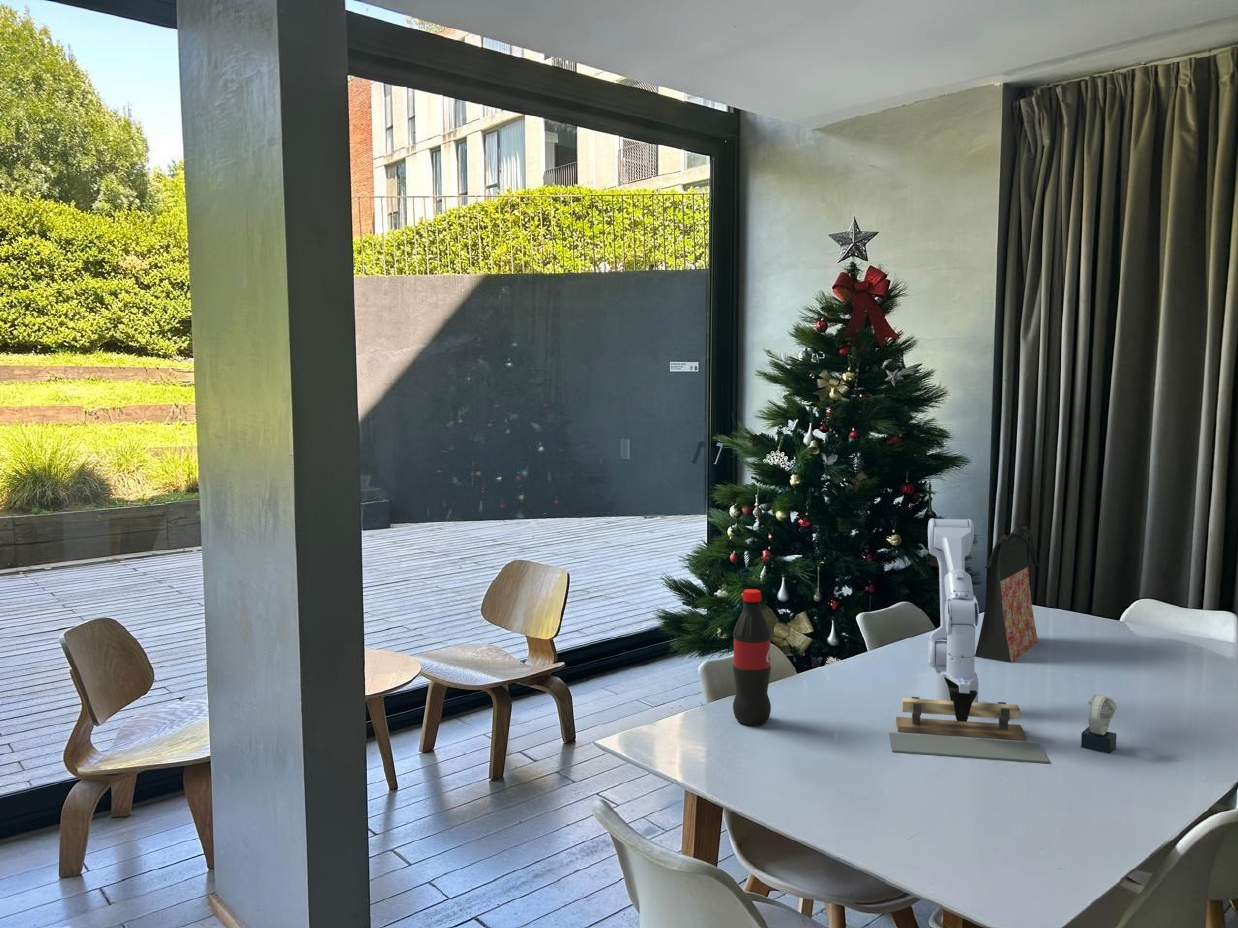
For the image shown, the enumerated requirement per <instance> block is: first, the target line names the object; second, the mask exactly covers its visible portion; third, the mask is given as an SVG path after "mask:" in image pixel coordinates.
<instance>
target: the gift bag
mask: <svg viewBox="0 0 1238 928" xmlns="http://www.w3.org/2000/svg"><path fill="white" fill-rule="evenodd" d="M1017 532H1019V534H1017ZM1028 551H1029V555H1030V559H1031V562H1032V564H1033V565H1034V566H1035V567H1037V568H1039V567H1040V566H1039V565H1040V564H1039V562H1038V557H1037V551H1036V547H1035V542H1034V539H1033V535H1032V533H1031V531H1030V529H1029V527H1028V526H1027V525H1023V527H1019V526H1018V527H1016V528H1014V529H1013V530H1012V532H1010V533H1009V534H1007V535H1006V534H1003V535H1001V536H1000V538H999V539H998V540H997V541H996V544H994V546H993V549H992V552H991V554H990V556H989V559H988V562H987V565H986V566H985V567H983V568H985V569H989V568H990V570H989V578H988V585H987V592H986V601H985V607H984V611H983V618H982V621H981V622H982V623H981V628H980V632H979V637H978V641H977V645H976V648H975V658H976V657H977V658H980V659H987V660H993V661H999V662H1004V663H1010V664H1012V663H1013V662H1014V661H1015V660H1017V659H1018V658H1019V657H1020V656H1022V655H1023V654H1024V653H1026V652H1027V651H1028V650H1029V649H1031V648H1032V647H1034V646H1035V645H1036V644H1037V643H1038V642H1039V638H1038V634H1037V628H1036V621H1035V618H1034V611H1033V603H1032V596H1031V594H1032V593H1031V586H1030V575H1029V563H1028V562H1029V560H1028Z"/></svg>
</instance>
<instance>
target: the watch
mask: <svg viewBox="0 0 1238 928" xmlns="http://www.w3.org/2000/svg"><path fill="white" fill-rule="evenodd" d="M1087 703H1088V705H1089V712H1088V715H1089V716H1088V718H1087V720H1088V727H1086V728H1085V729H1084V730H1083V731H1082V732H1081V736H1080V737H1081V738H1080V741H1081V744H1080V748H1082V749H1086V750H1091V751H1094V752H1099V753H1103V754H1107V755H1111V754H1112V753H1113V752H1114V751H1115V750H1116V749H1117V732H1116V733H1115V732H1112V731H1108V730H1109V728H1110V725H1111V724H1110V723H1111V719H1113V717H1114V715H1115V713H1116V711H1117V709H1118V705H1117V703H1116V702H1115V700H1114V699H1112V698H1111V697H1110V696H1108V695H1105V694H1093V695H1092V697H1091V699H1090V700H1088V701H1087Z"/></svg>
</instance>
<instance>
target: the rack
mask: <svg viewBox="0 0 1238 928" xmlns="http://www.w3.org/2000/svg"><path fill="white" fill-rule="evenodd" d="M911 698H913V699H921V697H920V696H911ZM997 704H1007V702H1005V701H997ZM921 716H922V713H921V703H913V713H911V717H910V716H909V717H906V716H895V717H896V718H895V724H896V729H897V733H899V732H900V733H911V734H925V735H940V736H955V737H956V736H958V737H969V738H972V737H973V738H985V737H987V738H986V739H998V740H1002V739H1003V740H1013V741H1019V740H1020V741H1026V740H1027V735H1026V733H1025V731H1024V729H1023V727H1022V726H1021V724H1013V723H1009V722H1010V720H1011V719H1010V709H1008V708H1001V718H998V722H983V721H982V722H981V721H968V720H967V722H961V721H957V720H955V719H953V720H952V719H941V718H940V719H939V718H937V719H936V718H921Z"/></svg>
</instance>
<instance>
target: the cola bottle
mask: <svg viewBox="0 0 1238 928" xmlns="http://www.w3.org/2000/svg"><path fill="white" fill-rule="evenodd" d="M742 602H744V603H743V609H742V611H741V613H740V615H739V617H738V619H737V621H736V623H735V627H734V629H733V632H732V635H733V636H732V637H733V665H732V670H733V676H734V683H735V688H736V689H735V690H736V691H735V693H736V694H735V697H734V699H733V702H732V703H733V704H732V711H733V715H734V718H735V719H736V721H738V722H739V723H741V724H743V725H745V726H746V725H747V726H759V725H763V724H766V723H767V721H768V720H769V719H770V716H771V711H772V704H771V701H770V698H769V695H768V691H769V683H770V678H771V677H770V676H771V670H772V665H771V638H772V632H771V628H770V626H769V623H768V621H767V618H766V617H765V615H764V613H763V611H762V608H761V602H762V593H761V590H759V589H756V588H755V589H751V588H750V589H744V590H743V594H742Z"/></svg>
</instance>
